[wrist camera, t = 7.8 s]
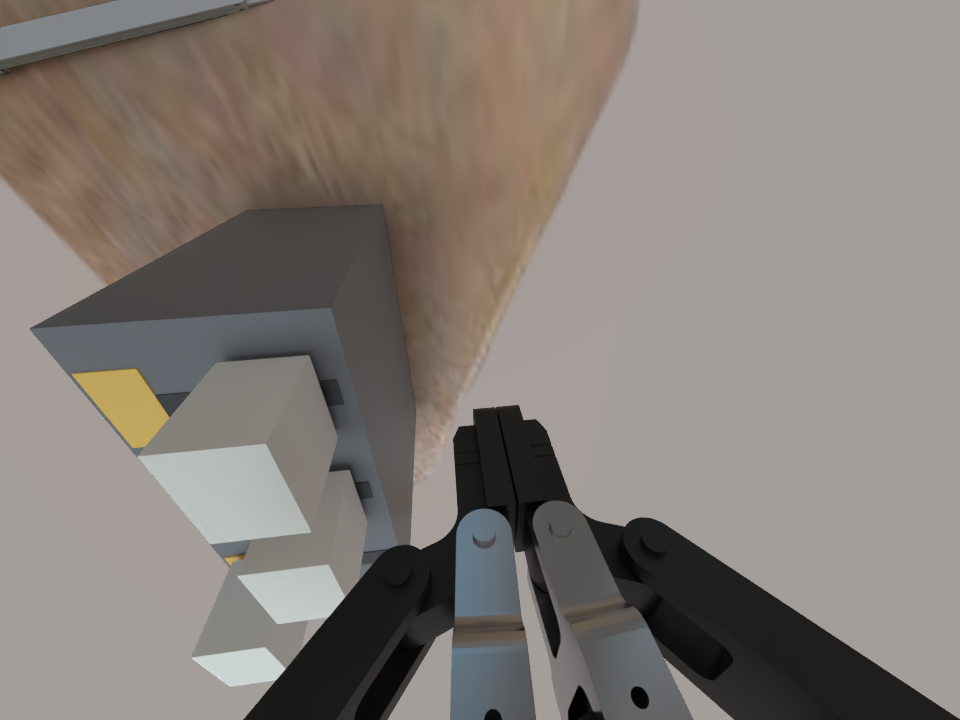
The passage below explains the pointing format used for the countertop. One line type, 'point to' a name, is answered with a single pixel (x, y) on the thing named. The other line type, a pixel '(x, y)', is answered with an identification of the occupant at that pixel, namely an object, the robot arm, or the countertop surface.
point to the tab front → (247, 450)
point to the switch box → (262, 341)
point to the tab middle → (310, 558)
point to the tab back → (245, 637)
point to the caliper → (104, 26)
